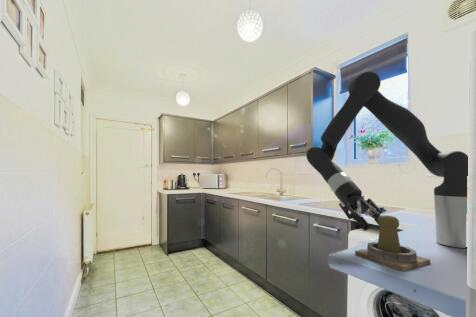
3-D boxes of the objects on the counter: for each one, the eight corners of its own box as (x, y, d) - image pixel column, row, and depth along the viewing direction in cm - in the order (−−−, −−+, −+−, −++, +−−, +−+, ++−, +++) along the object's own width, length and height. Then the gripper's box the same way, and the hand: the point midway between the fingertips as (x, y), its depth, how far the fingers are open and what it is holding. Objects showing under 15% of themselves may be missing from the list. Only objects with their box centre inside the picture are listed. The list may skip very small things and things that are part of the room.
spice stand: (382, 249, 73) (381, 239, 74) (430, 263, 62) (429, 252, 62) (355, 254, 68) (354, 244, 68) (402, 271, 56) (402, 258, 56)
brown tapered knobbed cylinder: (378, 250, 69) (377, 213, 70) (402, 254, 65) (401, 216, 66) (375, 255, 64) (374, 215, 65) (401, 260, 61) (399, 218, 61)
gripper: (335, 180, 74) (370, 222, 63) (363, 181, 81) (399, 219, 70) (323, 195, 79) (353, 237, 68) (350, 194, 85) (382, 233, 74)
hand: (376, 228), depth 69 cm, fingers open, 8 cm apart
